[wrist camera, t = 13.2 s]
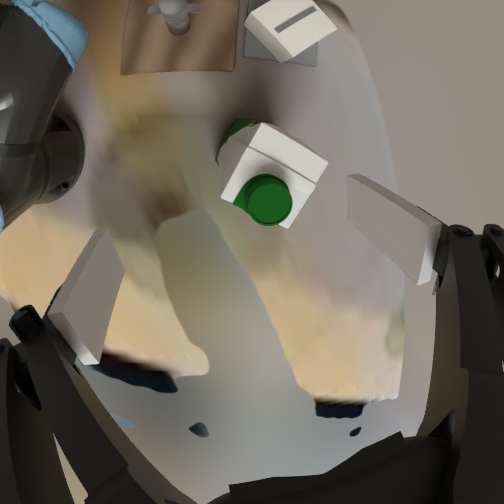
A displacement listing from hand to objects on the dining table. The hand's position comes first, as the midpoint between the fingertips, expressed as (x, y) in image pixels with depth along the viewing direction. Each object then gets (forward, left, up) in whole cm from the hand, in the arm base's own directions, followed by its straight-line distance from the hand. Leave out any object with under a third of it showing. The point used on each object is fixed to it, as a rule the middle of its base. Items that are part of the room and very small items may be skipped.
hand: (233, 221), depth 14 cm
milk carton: (+5, 0, -29) cm, 30 cm away
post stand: (-6, +19, -29) cm, 35 cm away
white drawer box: (+9, +20, -29) cm, 36 cm away
